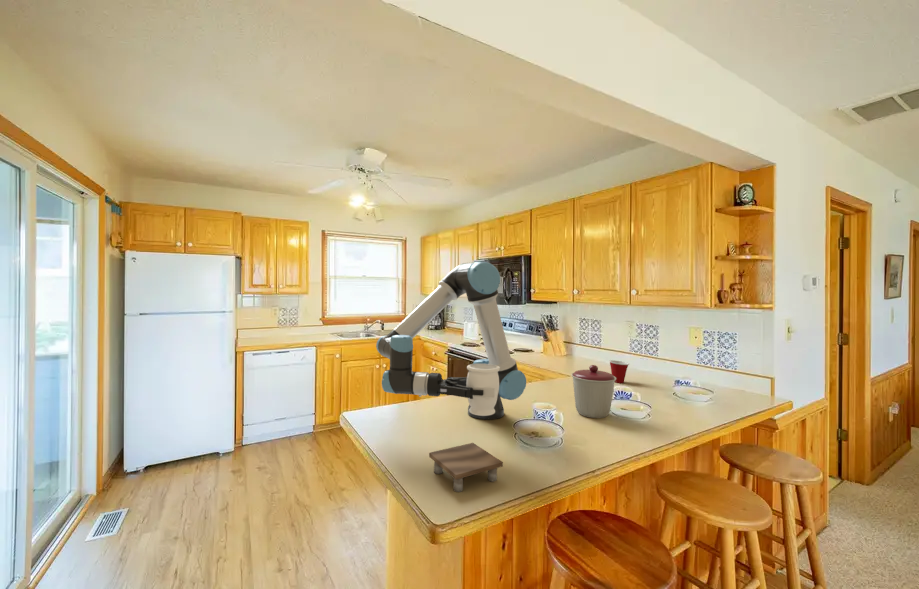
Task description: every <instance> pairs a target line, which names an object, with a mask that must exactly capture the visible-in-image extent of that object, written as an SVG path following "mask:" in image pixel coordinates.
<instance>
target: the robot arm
mask: <svg viewBox="0 0 919 589" xmlns="http://www.w3.org/2000/svg"><path fill="white" fill-rule="evenodd" d="M500 274H501V273H500V272H499V270H498V268H497V267H496V266H495V265H494V264H492V263H490V262H487V261H480V260H479V261H472V262H463V263H460V264H459V265H457V266H455V267H454V268H453V269H452V270H451V271H449V272H448V273H446V276H444V277H443V278H442V279H441V280H440V281H439V282H438V286H437V287H436V289H434V290H433V291H432V292H431V293H430V294H429V295H427V297H426V298H425V299H423V301H422V302H420V304H419V305H418V306H416V308H414V309H413V311H411V312H410V313H409V314H408V315H407V316H406V317H405V318H404V319H403V320H402V321H401V322H400V323H399V324H397V325H396V327H394V328H393V329H392V330H391V331H390V332H389V333H388V334H387V335H382V336H380V337H379V338H378V339H377V341H376V344H375V345H376V346H375V347H376V350H377V353H379V354H380V355H381V356H382V357H384V358H387V359H388V360H389V369H386V370H384V372H383V374H382V379H381V388H382V390H383V391H384V392H386V393H388V394H396V395H399V394H400V395H417V396H418V397H420V398H421V397H422V396H428V397H440V396H441V395H445V396H446V395H448V396H455V397H458V398H460V397H461V398H465V399H468V398H470V399H473V396H479V397H493V398H494V393H495V388H483V387H473V388H471V387H466V382H467V376H465V377H463V376H462V377H461V376H460V377H459V376H458V377H457V376H456V377H453V376H448V377H447V378H446V379H443V375H442V373H441V372H427V371H413V355H414V354H413V353H414V352H413V351H414V350H413V349H414V343H413V342H414V340H413V339H414V338H415V337H416V336H417V335H418V334H419V333H420V332H421V331H422V330H424V329H425V328H426V326H427V325H428V324H429V323H430V322H431V321H432V320H433V319H435V317H436V316H437V315H439V314H440V312H442V310H443V309H445V308H446V307H447V306H448V305H449V304H450V303H451V302H452V301H457V299H458V298H460V296H462V295H464V294H466V298H467V301H468V303H470V304H472V305H473V307H474V311H475V315H476V316H475V317H476V320H477V322H478V327H479V329H480V334H481V337H482V341H483V345H484V349H485V352H486V355H487V356H486V357H487V358H482V359H481V358H480V359H476V360H474V361H473V363H472V364H492V365H497V366H499V367H500V368H499V371H498V376H499V392H498V397H497V402H496V404H495V406H494V409H495V413H494V414H492V415H488V416H479V415H474V414H472V413H470V412H469V409H470V407H471V406H470V404H469V403H468V404H469V405H468V407H467V414H468V415H469V417H471V418H474V419H479V420H496V419H501V418H502V417H504V415H505V414H504V413H505V409H504V408H505V407H504V405H503V401H502V399H504V400H509V401H515V400H517V399H519V398H520V397H521V395H522V394H524V391H525V389H526V387H527V377H526V375H525V373H524V372H523V371H521V370H519V369H518V365H517V360H516V359H515V358H513V357H511V353H510V349H509V347H508V341H507V338H506V334H505V331H504V327H503V323H502V318H501V315H500V310H499V308H498V302H497V297H498V295H499V290H498V289H499V287H500V284H501V275H500Z"/></svg>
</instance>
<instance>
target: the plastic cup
mask: <svg viewBox="0 0 919 589" xmlns="http://www.w3.org/2000/svg"><path fill="white" fill-rule="evenodd" d="M608 362H609V366H610V371H611V373H610V374H612V375H613V376H615V377H616V380H615V381H614V384H615V383H616V384H624V382H625V379H626V375H627V370H628V367H629V365H630V363H628V362H625V361H622V360H613V359H612V360H611V359H610V360H609V361H608Z"/></svg>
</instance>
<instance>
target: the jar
mask: <svg viewBox="0 0 919 589" xmlns="http://www.w3.org/2000/svg"><path fill="white" fill-rule="evenodd" d="M499 368H500V367H499V366H497V365H492V364H473V363H471V364H468V365H466V370H467V371H468V372H467V376H466V377H467V382H466V387H471V388H473V387H483V388H495V393H494V398H493V397H479V396H473V399H470V398H467V401H468V404H470V406H471V407H470V409H469V412H470V413H472V414H474V415H479V416H488V415H492V414H494V413H495V409H494V406H495V404H496V402H497V397H498V392H499V376H498V371H499Z"/></svg>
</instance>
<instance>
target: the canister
mask: <svg viewBox="0 0 919 589" xmlns="http://www.w3.org/2000/svg"><path fill="white" fill-rule="evenodd" d="M588 367H589V369H579V370H576V371H574V372H572V373H571V374H570V375H571V377H572V382H573V383H572V384H573V392H574V393H573V394H574V395H573V396H574V403H575V409H576V412H577V413H578V414H579V415H582V416H584V417H586V418H591V419H592V418H593V419H603V418H606V417H607V416H608V415H609V414H610V412H611V407H612V402H613V395H614V388H615V382H614V381H615V380H616V377H615V376H613V375H612V373H610V372H607V371H603V370H599V367H598V366H597V365H596V364H591V365H590V366H588Z"/></svg>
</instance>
